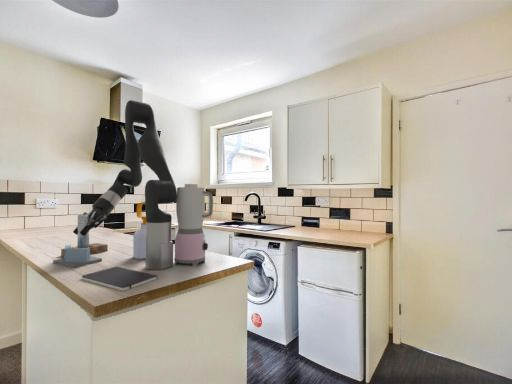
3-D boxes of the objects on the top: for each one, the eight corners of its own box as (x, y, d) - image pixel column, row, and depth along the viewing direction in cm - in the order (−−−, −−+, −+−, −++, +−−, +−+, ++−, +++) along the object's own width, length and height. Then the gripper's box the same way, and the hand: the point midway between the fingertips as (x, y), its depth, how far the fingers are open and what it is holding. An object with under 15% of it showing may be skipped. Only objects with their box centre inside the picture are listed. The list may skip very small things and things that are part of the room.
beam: (97, 249, 131) (97, 242, 131) (107, 250, 127) (107, 244, 127) (61, 255, 117) (61, 249, 117) (71, 258, 113) (71, 251, 113)
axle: (91, 248, 110) (91, 214, 110) (81, 250, 107) (81, 215, 107) (85, 247, 112) (85, 214, 112) (75, 249, 109) (75, 215, 109)
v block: (102, 261, 109) (102, 246, 109) (74, 267, 99) (74, 251, 99) (81, 256, 116) (81, 242, 116) (52, 262, 106) (52, 247, 106)
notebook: (157, 280, 89) (116, 270, 98) (157, 275, 89) (116, 266, 98) (123, 292, 77) (80, 280, 87) (123, 287, 77) (80, 275, 87)
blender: (168, 265, 104) (169, 183, 104) (182, 257, 116) (183, 184, 116) (206, 268, 101) (207, 183, 101) (217, 260, 113) (218, 184, 113)
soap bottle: (150, 259, 113) (151, 201, 113) (129, 259, 113) (130, 201, 113) (158, 254, 122) (159, 200, 122) (139, 254, 122) (139, 200, 122)
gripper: (91, 196, 119) (61, 226, 108) (112, 197, 113) (82, 229, 102) (102, 207, 124) (74, 237, 113) (123, 209, 118) (95, 241, 107)
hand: (78, 233), depth 108 cm, fingers closed on axle, 4 cm apart
